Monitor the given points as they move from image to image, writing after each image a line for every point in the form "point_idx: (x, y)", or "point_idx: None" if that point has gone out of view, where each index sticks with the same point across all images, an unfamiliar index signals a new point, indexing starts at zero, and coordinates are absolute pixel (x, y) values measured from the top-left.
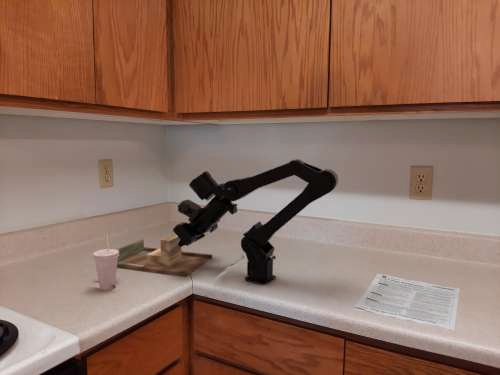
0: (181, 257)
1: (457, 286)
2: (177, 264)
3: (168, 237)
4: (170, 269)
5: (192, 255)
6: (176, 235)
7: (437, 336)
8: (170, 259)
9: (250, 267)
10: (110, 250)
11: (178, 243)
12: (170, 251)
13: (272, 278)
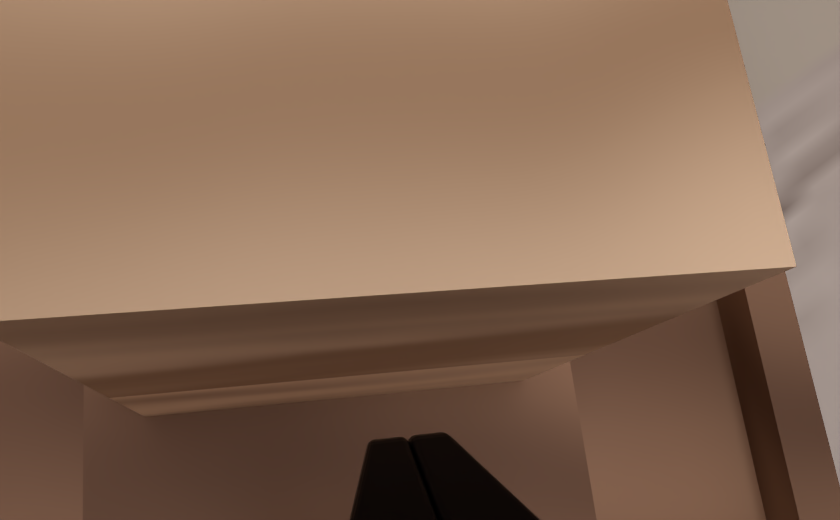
0: (535, 375)
1: None
2: (317, 448)
3: (381, 50)
4: (42, 499)
5: (755, 431)
6: (695, 148)
7: None
8: (154, 399)
9: None
10: None
11: (363, 466)
12: (131, 376)
13: None
